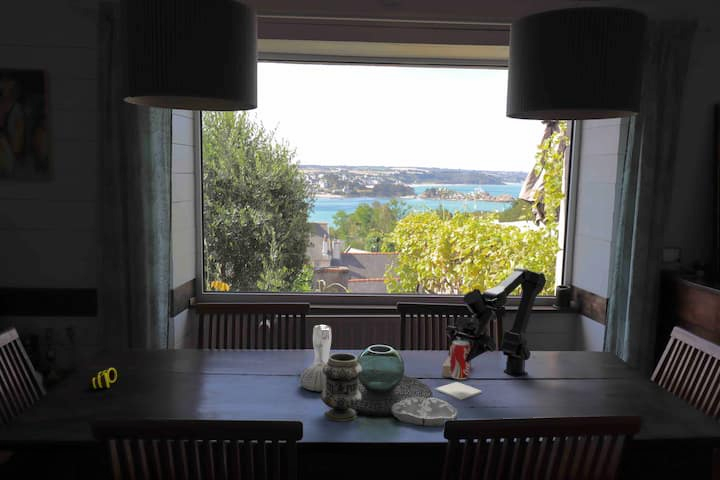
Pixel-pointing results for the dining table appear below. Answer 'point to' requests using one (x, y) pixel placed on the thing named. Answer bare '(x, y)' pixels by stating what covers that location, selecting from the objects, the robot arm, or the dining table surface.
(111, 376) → the yellow coil spring
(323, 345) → the beer glass
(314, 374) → the sea urchin shell
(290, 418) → the dining table surface
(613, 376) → the dining table surface
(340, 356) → the apothecary jar
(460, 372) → the soda can
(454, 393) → the pad
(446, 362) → the brick
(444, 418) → the brain slice
